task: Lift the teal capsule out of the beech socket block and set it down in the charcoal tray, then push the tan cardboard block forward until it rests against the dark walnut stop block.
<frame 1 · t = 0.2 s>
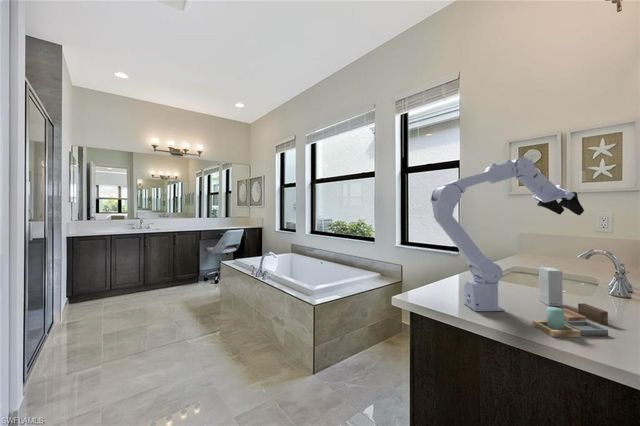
hand: (571, 212, 92), 31 cm above the counter, tool tilted 50°, fingers open, 7 cm apart
tan cardboard block: (566, 321, 82), on the counter
stop block: (592, 319, 82), on the counter
socket block: (555, 331, 75), on the counter
teal capsule: (555, 320, 75), in the socket block
tray: (583, 330, 75), on the counter
skincare box: (550, 304, 96), on the counter
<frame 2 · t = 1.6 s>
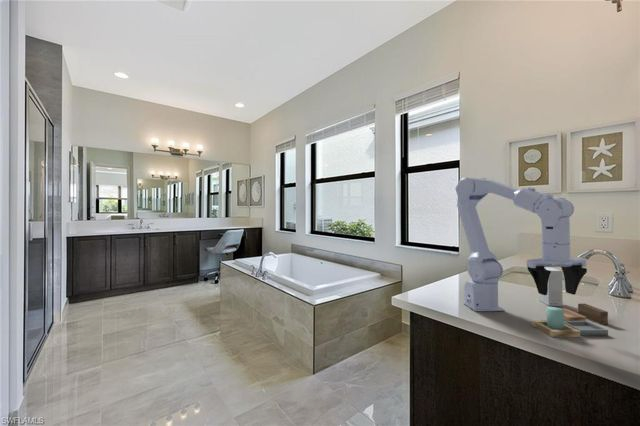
hand: (556, 293, 75), 10 cm above the counter, tool pointing down, fingers open, 7 cm apart
nothing on the counter moved.
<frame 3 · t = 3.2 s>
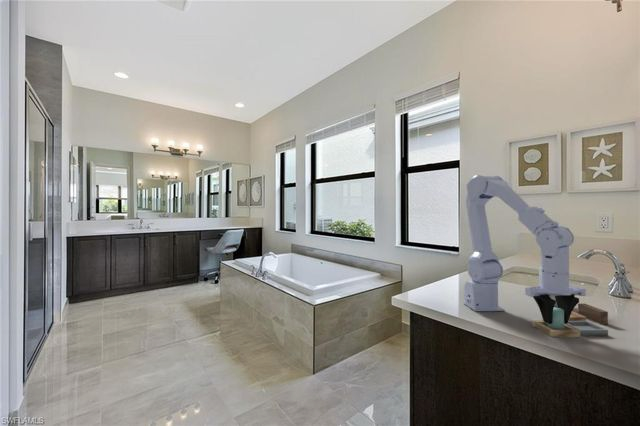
hand: (555, 322, 75), 2 cm above the counter, tool pointing down, fingers closed on teal capsule, 4 cm apart
teal capsule: (555, 320, 75), in the socket block, touching gripper
everything else where it was.
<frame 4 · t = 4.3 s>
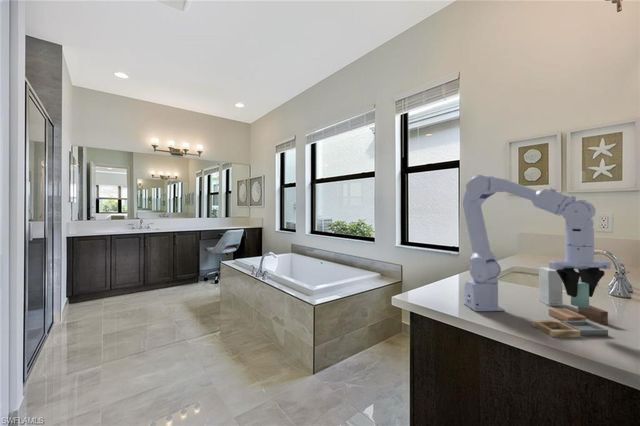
hand: (579, 295, 75), 9 cm above the counter, tool pointing down, fingers closed on teal capsule, 4 cm apart
teal capsule: (579, 294, 75), point 10 cm above the counter, touching gripper
everything else where it was.
when the fingers open (4 cm above the counter, at t = 5.7 s): teal capsule drops 1 cm, resting on tray.
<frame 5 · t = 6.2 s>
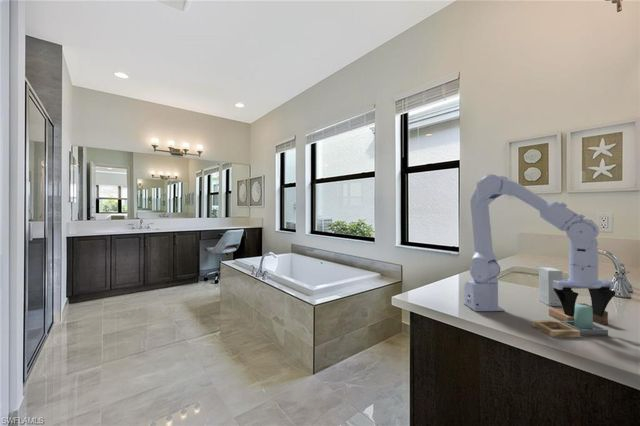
hand: (583, 315, 75), 4 cm above the counter, tool pointing down, fingers open, 7 cm apart
teal capsule: (583, 317, 75), point 4 cm above the counter, touching tray
everything else where it was.
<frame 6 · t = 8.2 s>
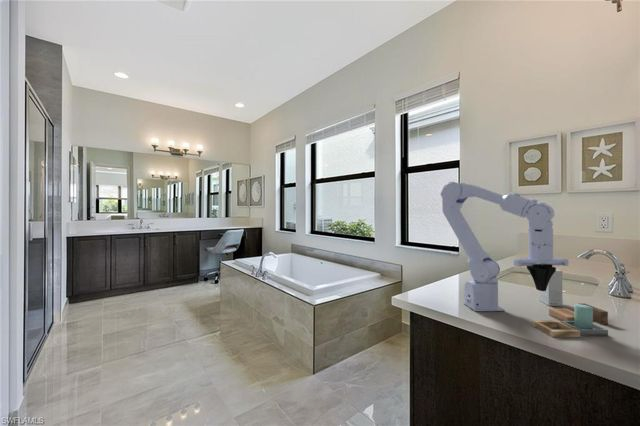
hand: (541, 290, 82), 9 cm above the counter, tool pointing down, fingers closed
nothing on the counter moved.
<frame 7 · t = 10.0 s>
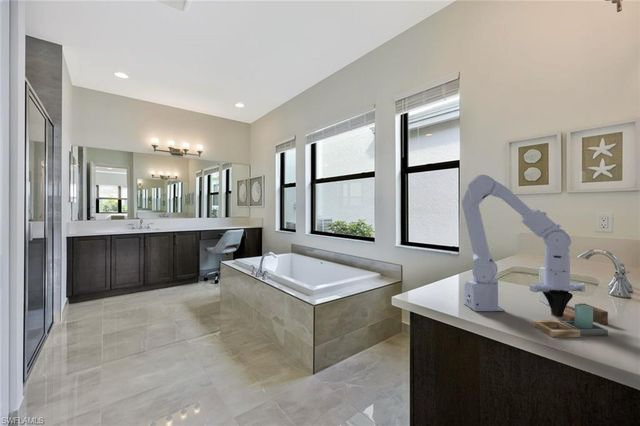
hand: (557, 315, 82), 1 cm above the counter, tool pointing down, fingers closed
tan cardboard block: (568, 320, 83), on the counter, touching gripper
everything else where it was.
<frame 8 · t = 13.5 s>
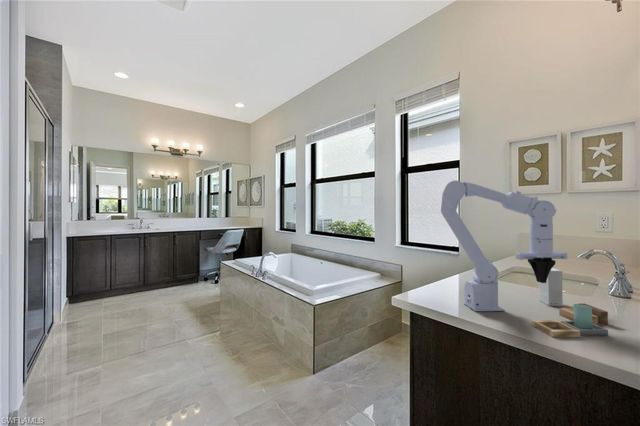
hand: (541, 282, 87), 10 cm above the counter, tool pointing down, fingers closed
tan cardboard block: (577, 320, 83), on the counter
everything else where it was.
at the end: teal capsule 0.1 cm off-centre on the tray, point 3.7 cm above the tray's base; teal capsule tilted 2°; tan cardboard block 0.2 cm from the target spot, on the counter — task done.
